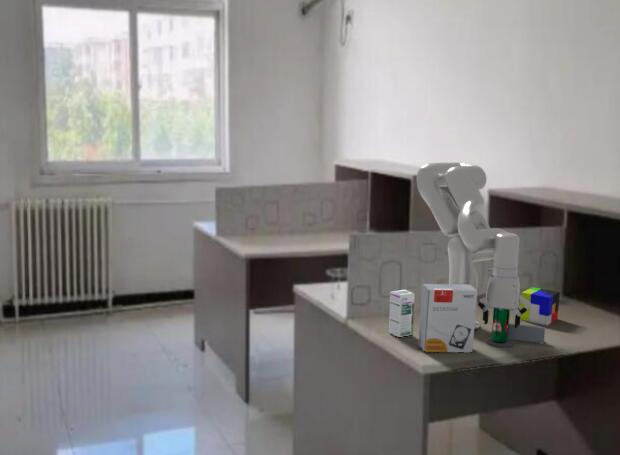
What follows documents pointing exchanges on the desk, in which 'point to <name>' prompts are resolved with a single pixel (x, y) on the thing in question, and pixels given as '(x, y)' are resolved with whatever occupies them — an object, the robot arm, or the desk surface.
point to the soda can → (500, 325)
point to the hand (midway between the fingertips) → (501, 325)
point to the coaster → (491, 342)
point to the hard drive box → (447, 317)
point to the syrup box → (401, 312)
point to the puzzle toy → (541, 306)
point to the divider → (526, 333)
